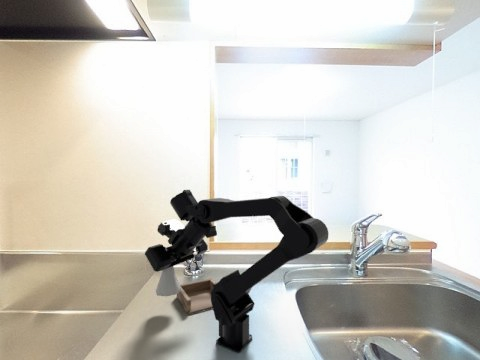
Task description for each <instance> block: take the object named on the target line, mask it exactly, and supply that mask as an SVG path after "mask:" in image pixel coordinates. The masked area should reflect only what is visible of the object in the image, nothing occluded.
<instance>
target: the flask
mask: <svg viewBox="0 0 480 360" xmlns="http://www.w3.org/2000/svg"><path fill="white" fill-rule="evenodd" d="M180 285H181V284H180V282H179V279H178V276H177V274H176V270H175V266H172V267H170V268H167V269H165V270H162V271H161V273H160V278H159V280H158V283H157V286H156V288H155V294H156V296H158V297H171V296H174V295H175V296H177V294H178V293H179V292H180V291H181V287H180Z"/></svg>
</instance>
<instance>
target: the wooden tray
mask: <svg viewBox="0 0 480 360" xmlns="http://www.w3.org/2000/svg"><path fill="white" fill-rule="evenodd" d="M215 283H217V282H216V281H215V280H214V279H213V278H212V277H211V278H206V279H202V280H197V281H193V282H188V283H184V284H180V287H181V291H180V292H179V293H178V294H176V298H177V300H178V301H179V302H180V304H181V306H182V307H183V309H184V310H185V312H186V314H187V315H188V316H189V315H194V314H197V313H198V314H199V313H201V312H205V311H208V310H211V309H212V310H213V307H212V303H211V294H210V293H211V290H212V289H213V288H214V287H213V285H214V284H215Z"/></svg>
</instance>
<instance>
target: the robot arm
mask: <svg viewBox="0 0 480 360" xmlns="http://www.w3.org/2000/svg"><path fill="white" fill-rule="evenodd" d="M170 206H171V207H172V209H173V210H174V212H175V214H176V215H177V218H179V220H180V221H186V222H187V224H186V225H184V224H183V223H181V222H180V221H178V220H177V219H175V218H172V219H167V220H164V221H163V222H160V224H158V226H157V233H158V234H160V235H161V236H163V237H164V236H165V237H167V238H168V239H167V242H168V244H169V245H170V246H167V247H166V246H164V245H163V244H160V243H159V244H156V245H152V246H149V247H147V249H146V250H145V252H144V255H145V257H146V258H147V260H148V262H149V264H150V266H151V268H152V270H153V271H154V272H156V273H158V272H160V271H161V272H162V270H165V269H167V268H170V267H172V266H173V267H175V266H177V265H179V264H182V263H184V262H186V261H189V260H192V259H194V258H195V252H196V251H195V249H197V251H198V252H197V255H198V256H200V255H203V254H205V253H206V252H207V251H208V249H209V248H208V244H207V242H206V241H205V239H204V238H206V239H210V238H213V237H216V236H217V235H218V233H217V232H218V231H217V227H216V225H213V224H212V223H213V222H219V221H222V220H226V219H230V218H243V217H244V218H245V217H250V218H251V217H265V216H266V217H268V216H269V217H270V218H271V220H273V222H274V224H275V225H276V227H277V229H278V231H279V232H280V234H282V235H283V236H282V238H280V241H279V243H278V244H277V246H276V247H274V248H273V249H272V250H271V251H269V252H268V253H266V254H265V255H264V256H263V257H261V258H259V260H257V261H256V262H255V263H253V264H251V266H250V267H248V268H247V269H245V270H244V271H243V272H242V273H240V271H239V269H237V270H235V271H233V272H231V273H229V274H227V275H225V276H223V277H221V279H219V281H218V282H216V283H215V284H214V285H213V287H214V288H213V289H212V290H211V293H210V294H211V303H212V307H213V308H212V310H213V314H214V318H215V320H216V321H218V336H219V337H218V338H217V339H216V341H215V344H217V345H219V346H220V347H221V346H222V347H224V348H226V349H228V350H231V351H233V352H236V353H241V352H242V350H243V349H245V347H246V346H247V344H249V342H250V341H251V340H252V339H253V334H251V333H250V315H249V313H250V312H252V311H253V309H254V308H255V307H254V306H255V302H254V300H253V299H252V298H251V295H249V294H250V293H251V290H252V288H253V287H254V286H256V285H258V284H259V283H261V282H262V281H264V280H265V279H266V278H267V277H268V276H270V275H272V274H273V273H275V272H276V271H277V270H279V269H280V268H281V267H283V266H285V265H286V264H287V263H289V262H292V261H293V260H297V259H299V258H301V257H304V256H307V255H310V254H311V253H313V252H315V251H316V250H317V249H319V248H320V247H321V246H323V245H325V244H326V243H327V242H328V240H329V229H328V227H327V224H325V222H324V221H323V220H321V219H318V218H314V217H313V216H312V215H311V214H310V213H309V212H307V211H306V210H304V209H303V208H301V207H300V206H298V205H296V204H294V203H293V202H292V201H291V200H290V199H289V198H288V197H286V196H284V195H276V196H270V197H265V198H254V199H253V198H252V199H241V200H233V199H229V198H222V197H215V198H207V199H201V200H199V201H198V200H196V198H195V197H194V195H193V193H192V191H191V190H190V189H183V190H182V192H180V193H178V194H176V195H175V196H173V197H171V199H170Z"/></svg>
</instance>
